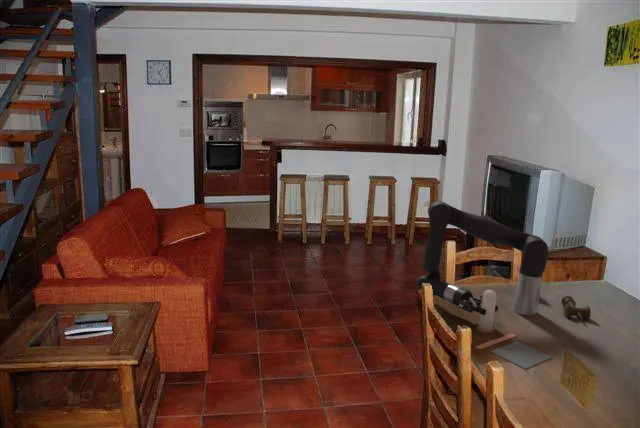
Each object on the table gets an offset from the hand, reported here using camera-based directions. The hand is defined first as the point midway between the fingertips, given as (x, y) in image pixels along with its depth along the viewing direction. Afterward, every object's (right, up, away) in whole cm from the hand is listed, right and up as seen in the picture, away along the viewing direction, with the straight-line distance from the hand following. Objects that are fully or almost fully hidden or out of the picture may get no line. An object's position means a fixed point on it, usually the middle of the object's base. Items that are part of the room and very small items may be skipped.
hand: (491, 310), depth 202 cm
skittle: (-1, -8, +3) cm, 9 cm away
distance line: (0, -10, -7) cm, 12 cm away
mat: (+5, -13, -16) cm, 21 cm away
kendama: (+43, -6, +25) cm, 50 cm away
